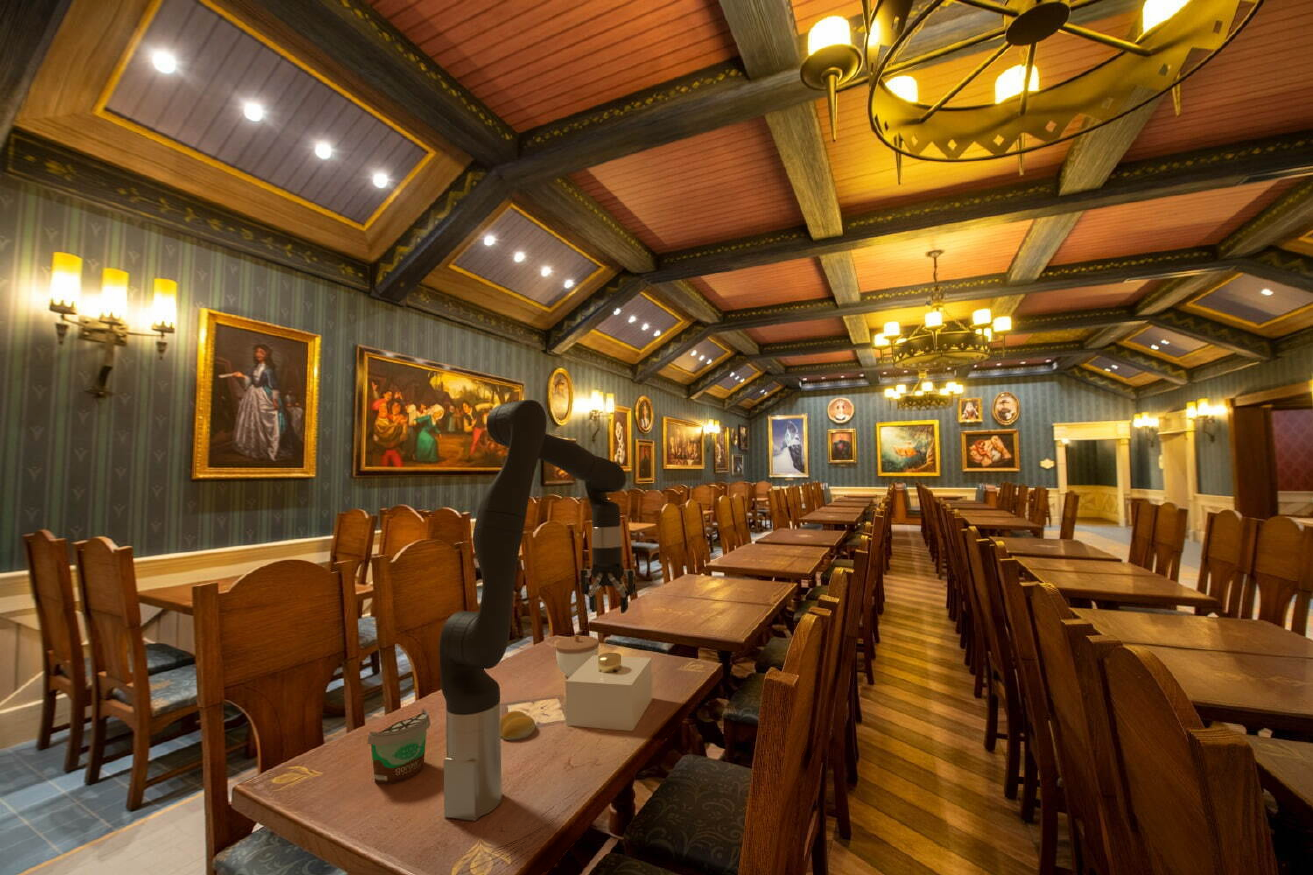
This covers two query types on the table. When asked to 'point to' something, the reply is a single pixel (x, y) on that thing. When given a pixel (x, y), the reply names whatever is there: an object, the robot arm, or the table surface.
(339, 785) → the table surface
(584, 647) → the lidded bowl
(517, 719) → the bread roll
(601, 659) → the brass-head pin
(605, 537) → the robot arm
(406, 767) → the food container
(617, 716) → the pin block
